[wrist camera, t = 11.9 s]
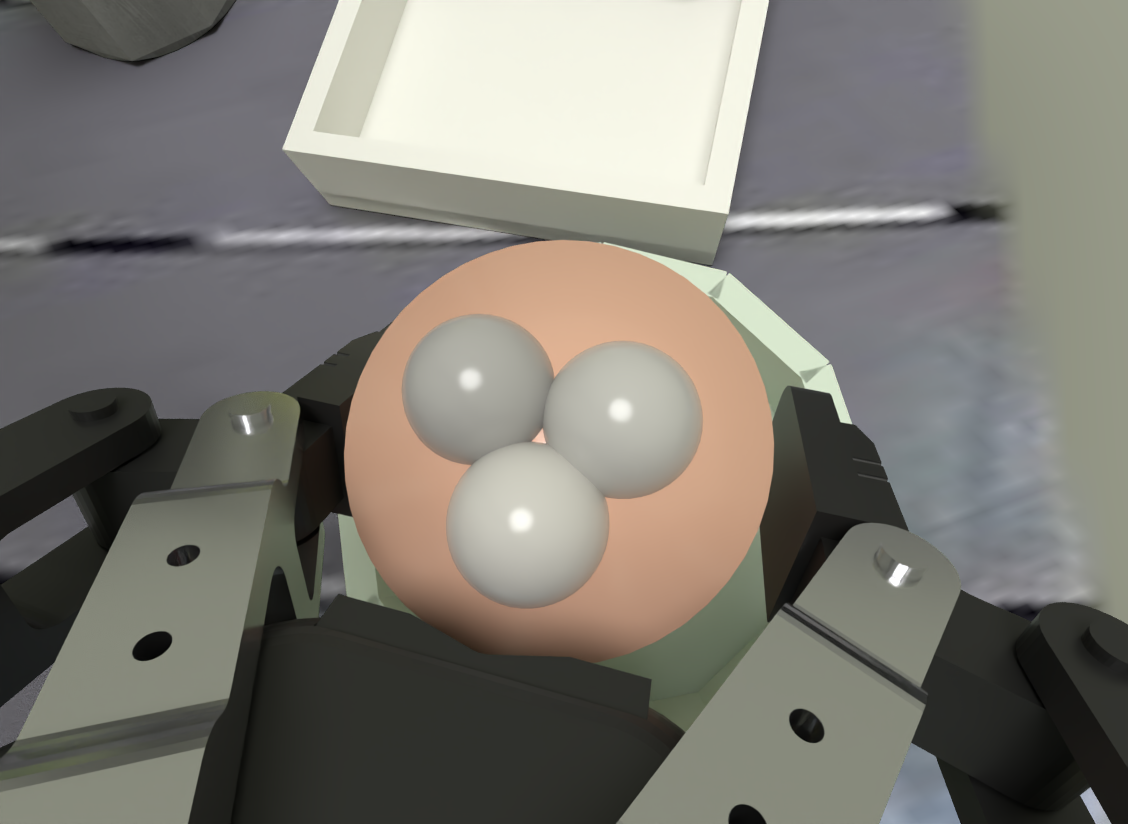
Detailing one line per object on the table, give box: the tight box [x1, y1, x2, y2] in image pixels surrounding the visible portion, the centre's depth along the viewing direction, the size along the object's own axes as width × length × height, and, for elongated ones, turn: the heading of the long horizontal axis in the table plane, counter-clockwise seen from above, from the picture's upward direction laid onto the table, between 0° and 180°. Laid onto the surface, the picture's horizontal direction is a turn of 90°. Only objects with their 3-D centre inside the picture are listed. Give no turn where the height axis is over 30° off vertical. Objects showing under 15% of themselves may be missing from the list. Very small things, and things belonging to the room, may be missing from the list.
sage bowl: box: [338, 242, 852, 732], centre depth 16 cm, size 13×13×4 cm
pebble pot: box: [344, 240, 774, 663], centre depth 11 cm, size 5×5×11 cm
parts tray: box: [282, 0, 769, 265], centre depth 19 cm, size 14×14×4 cm
